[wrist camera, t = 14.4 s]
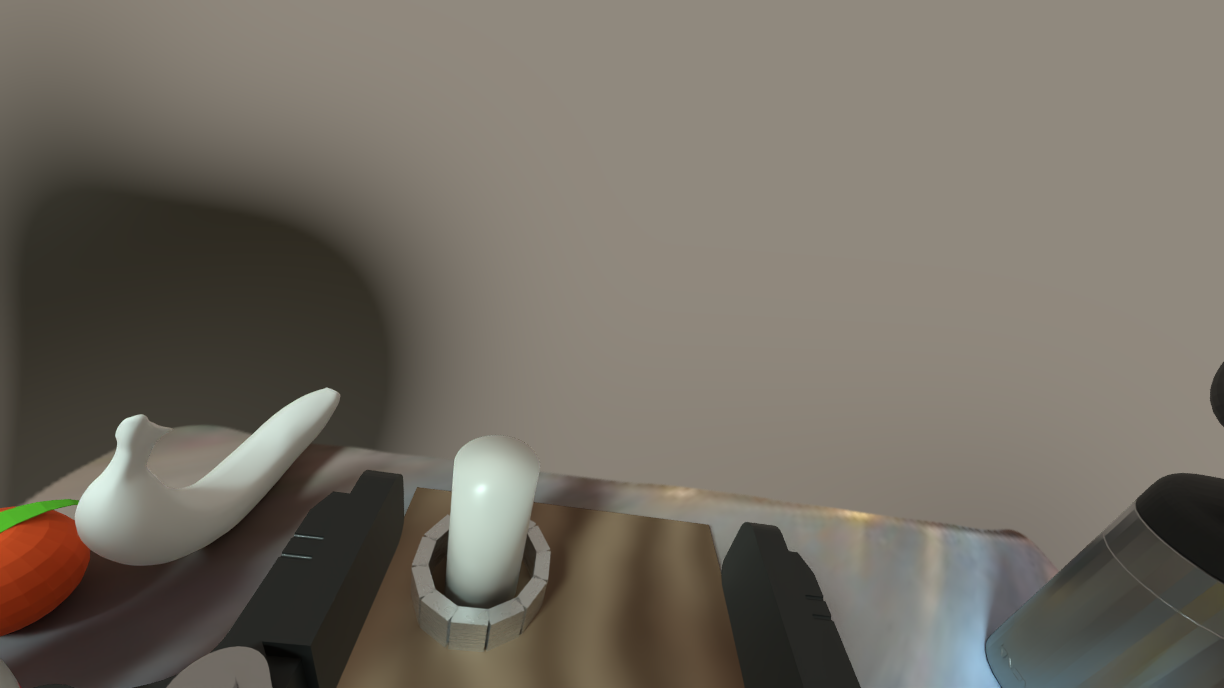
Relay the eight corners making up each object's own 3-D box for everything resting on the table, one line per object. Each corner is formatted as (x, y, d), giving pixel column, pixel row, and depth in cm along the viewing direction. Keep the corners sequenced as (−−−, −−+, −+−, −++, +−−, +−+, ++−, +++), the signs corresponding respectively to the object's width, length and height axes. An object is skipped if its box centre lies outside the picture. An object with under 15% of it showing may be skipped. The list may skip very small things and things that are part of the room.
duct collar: (548, 538, 38) (554, 513, 37) (536, 656, 31) (543, 630, 29) (435, 525, 37) (436, 498, 36) (392, 644, 29) (392, 616, 28)
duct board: (703, 535, 44) (708, 524, 43) (753, 747, 30) (761, 736, 30) (416, 499, 41) (417, 487, 40) (324, 719, 27) (322, 706, 26)
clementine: (92, 527, 33) (57, 451, 30) (150, 580, 31) (120, 505, 28) (-100, 623, 26) (-174, 540, 23) (-43, 699, 24) (-114, 620, 21)
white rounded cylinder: (521, 558, 36) (543, 441, 31) (511, 624, 32) (535, 501, 26) (455, 551, 36) (465, 429, 30) (435, 616, 31) (443, 489, 26)
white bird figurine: (346, 433, 45) (336, 296, 38) (175, 633, 29) (103, 456, 22) (294, 422, 45) (275, 282, 38) (92, 619, 29) (-7, 435, 22)
